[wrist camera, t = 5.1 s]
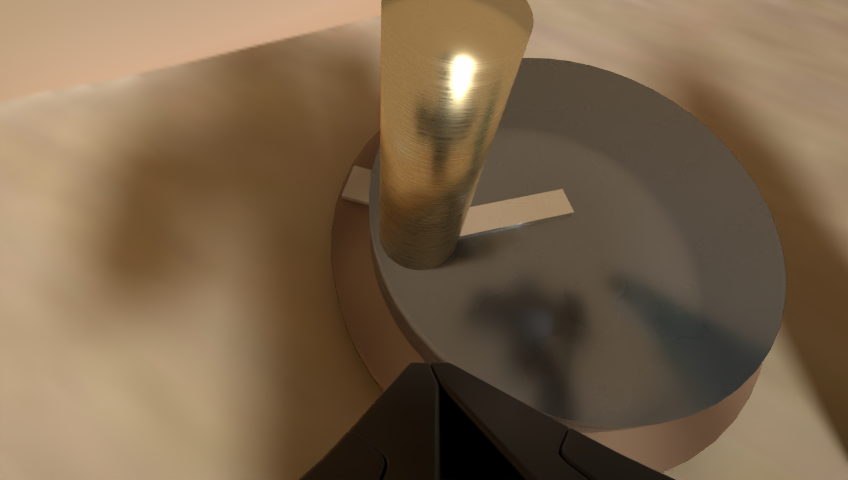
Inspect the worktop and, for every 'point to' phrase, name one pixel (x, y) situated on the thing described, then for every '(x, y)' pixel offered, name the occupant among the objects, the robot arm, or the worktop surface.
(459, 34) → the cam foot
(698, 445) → the stand base
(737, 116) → the worktop surface
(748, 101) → the worktop surface
